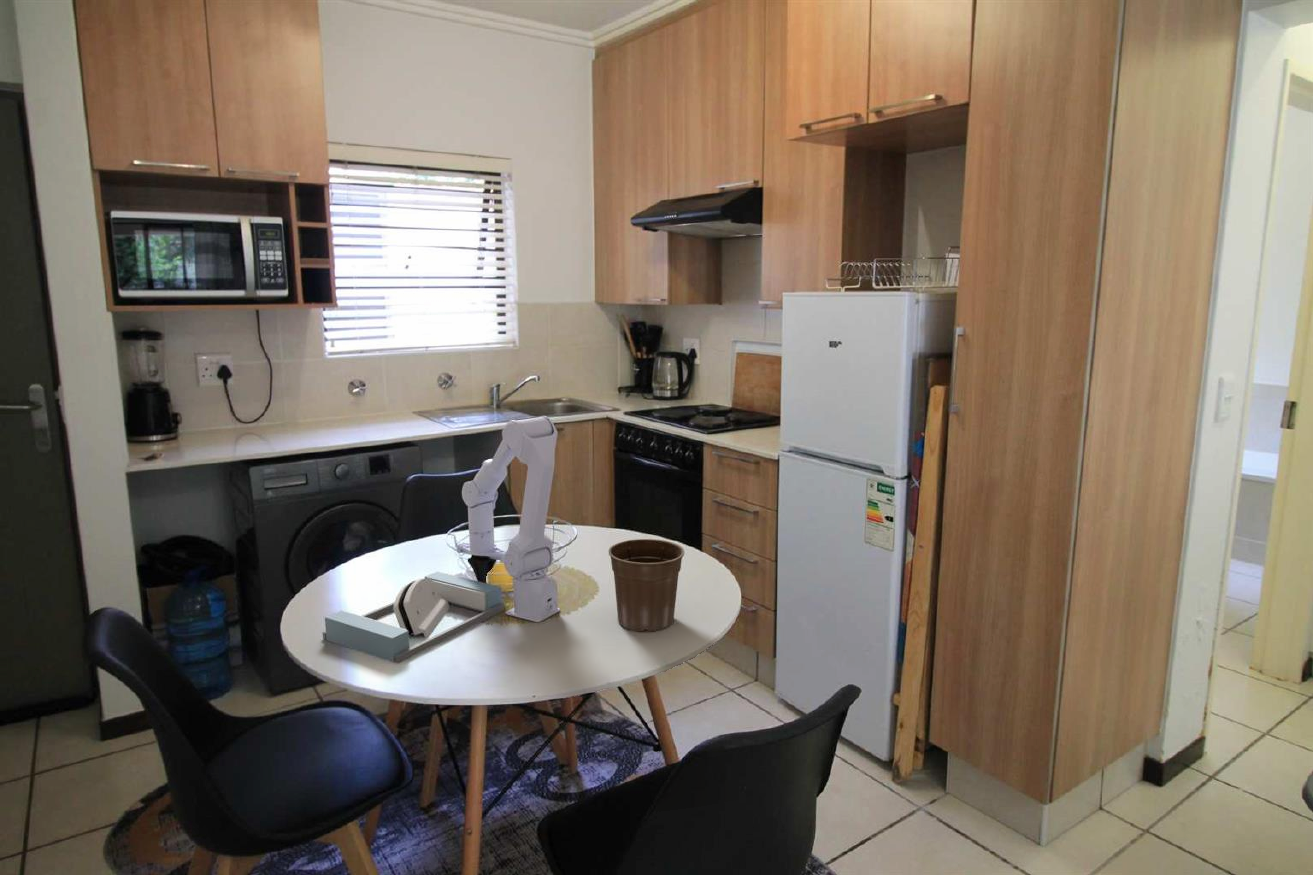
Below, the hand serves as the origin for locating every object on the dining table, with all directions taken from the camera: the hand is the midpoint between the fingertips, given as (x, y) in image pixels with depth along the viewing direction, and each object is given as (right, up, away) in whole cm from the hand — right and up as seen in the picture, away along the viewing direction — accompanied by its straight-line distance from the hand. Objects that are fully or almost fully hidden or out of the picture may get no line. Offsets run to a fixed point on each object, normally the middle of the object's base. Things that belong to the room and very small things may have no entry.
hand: (483, 585), depth 188 cm
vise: (-11, -5, -17) cm, 21 cm away
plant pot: (+39, -5, -16) cm, 42 cm away
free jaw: (-4, -3, -6) cm, 7 cm away
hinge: (-10, -5, -16) cm, 20 cm away
